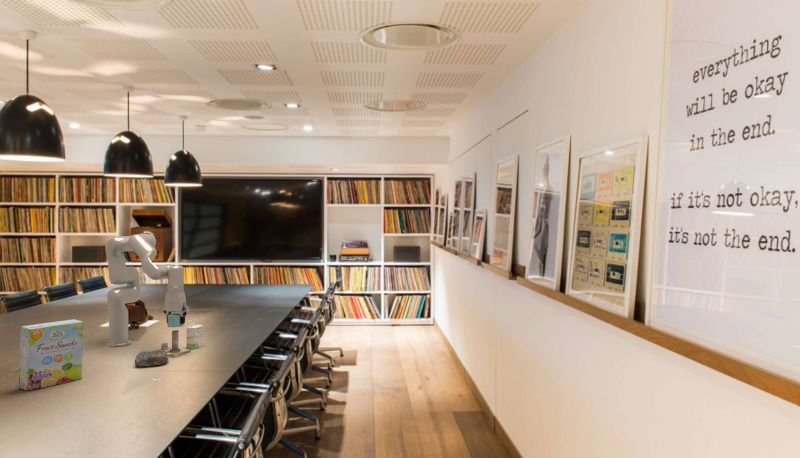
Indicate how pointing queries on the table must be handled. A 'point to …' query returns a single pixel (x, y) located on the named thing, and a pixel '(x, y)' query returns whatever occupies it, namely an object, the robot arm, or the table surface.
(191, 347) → the ink box
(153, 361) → the rock
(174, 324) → the ring
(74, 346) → the snack box
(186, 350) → the board
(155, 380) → the paper
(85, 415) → the table surface
